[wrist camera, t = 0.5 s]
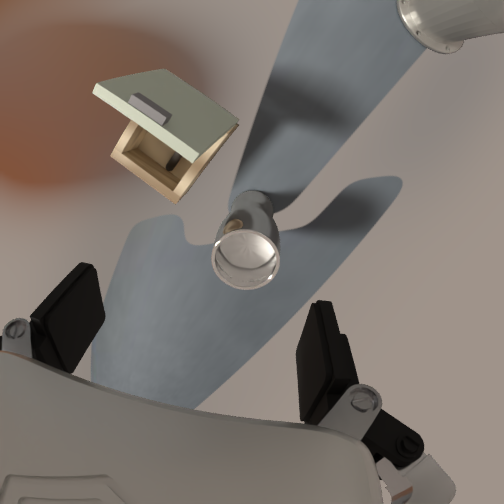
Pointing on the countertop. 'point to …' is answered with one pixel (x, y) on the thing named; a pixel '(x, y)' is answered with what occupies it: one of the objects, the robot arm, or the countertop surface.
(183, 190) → the light wooden box
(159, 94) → the box lid
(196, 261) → the countertop surface
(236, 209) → the beer glass
